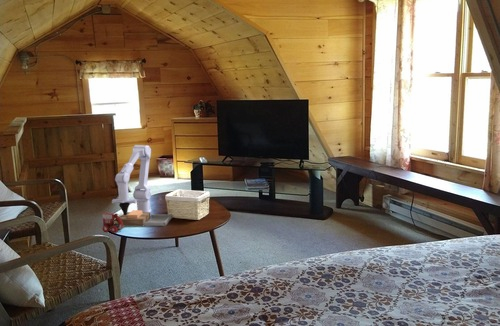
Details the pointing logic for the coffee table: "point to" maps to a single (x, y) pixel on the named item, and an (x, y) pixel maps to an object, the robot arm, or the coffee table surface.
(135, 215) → the tan rectangular block
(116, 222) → the toy fire truck
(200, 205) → the storage basket
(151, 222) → the tray
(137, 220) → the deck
